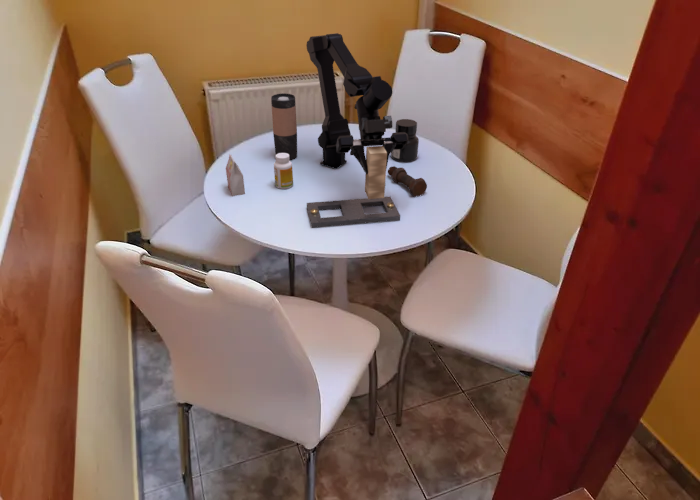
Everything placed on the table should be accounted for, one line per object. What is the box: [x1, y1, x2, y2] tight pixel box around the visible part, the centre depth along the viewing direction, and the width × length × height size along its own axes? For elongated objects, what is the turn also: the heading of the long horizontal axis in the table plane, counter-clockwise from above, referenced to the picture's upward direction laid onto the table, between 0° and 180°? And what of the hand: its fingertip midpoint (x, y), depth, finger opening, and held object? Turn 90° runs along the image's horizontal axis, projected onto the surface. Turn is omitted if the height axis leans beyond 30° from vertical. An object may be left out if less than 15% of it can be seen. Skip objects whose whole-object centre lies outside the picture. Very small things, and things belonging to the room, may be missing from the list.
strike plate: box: [306, 195, 401, 229], centre depth 146 cm, size 24×11×2 cm, turn 101°
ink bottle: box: [390, 118, 420, 163], centre depth 175 cm, size 10×9×12 cm
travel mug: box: [271, 92, 298, 162], centre depth 172 cm, size 8×8×20 cm
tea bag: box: [225, 154, 246, 197], centre depth 155 cm, size 4×7×10 cm, turn 22°
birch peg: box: [364, 145, 387, 199], centre depth 141 cm, size 4×4×13 cm
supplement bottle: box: [273, 153, 294, 190], centre depth 158 cm, size 5×5×10 cm
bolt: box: [387, 165, 428, 198], centre depth 160 cm, size 6×5×15 cm
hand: (376, 173), depth 141 cm, fingers closed on birch peg, 4 cm apart
